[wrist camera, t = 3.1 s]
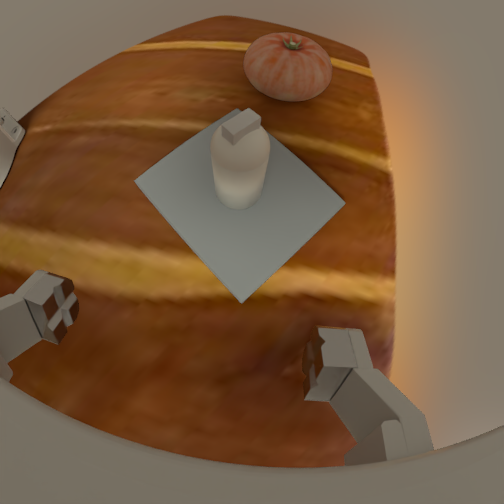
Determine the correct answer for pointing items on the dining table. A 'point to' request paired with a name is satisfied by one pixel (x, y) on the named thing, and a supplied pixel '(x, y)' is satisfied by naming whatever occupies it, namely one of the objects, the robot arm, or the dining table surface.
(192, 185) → the grey pad
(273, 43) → the tomato
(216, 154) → the white rounded bottle
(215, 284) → the dining table surface
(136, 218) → the dining table surface
